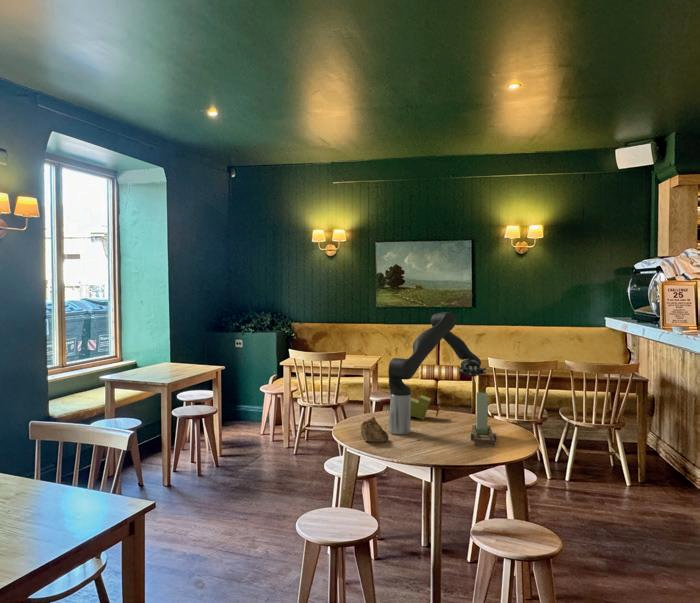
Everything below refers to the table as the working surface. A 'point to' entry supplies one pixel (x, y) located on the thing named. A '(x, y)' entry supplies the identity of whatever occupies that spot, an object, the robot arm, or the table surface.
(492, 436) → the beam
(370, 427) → the decorative rock
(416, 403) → the toy
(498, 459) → the table surface
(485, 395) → the block
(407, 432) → the robot arm
